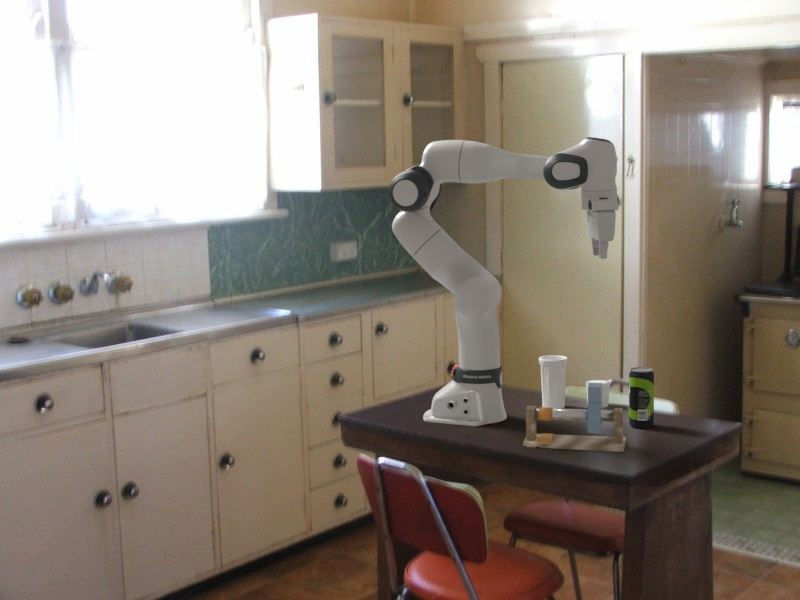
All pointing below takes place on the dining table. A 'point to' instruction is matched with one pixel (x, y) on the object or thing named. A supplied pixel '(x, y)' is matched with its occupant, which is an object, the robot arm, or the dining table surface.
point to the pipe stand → (573, 440)
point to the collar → (594, 407)
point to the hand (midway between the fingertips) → (599, 257)
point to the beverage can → (641, 397)
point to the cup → (553, 380)
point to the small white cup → (604, 390)
